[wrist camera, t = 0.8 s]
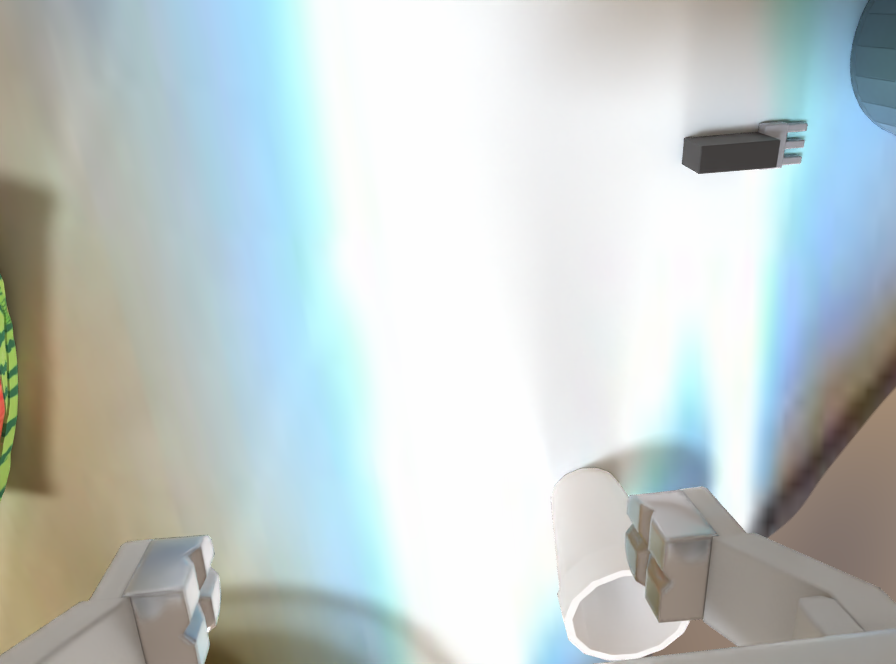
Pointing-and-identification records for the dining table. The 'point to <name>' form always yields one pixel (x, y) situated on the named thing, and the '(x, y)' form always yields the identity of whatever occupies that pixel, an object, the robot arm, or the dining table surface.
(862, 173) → the dining table surface
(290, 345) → the dining table surface
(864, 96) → the blue-grey round hollow container
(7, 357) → the fruit slice
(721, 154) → the two-tone pronged bar
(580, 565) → the foam cup
